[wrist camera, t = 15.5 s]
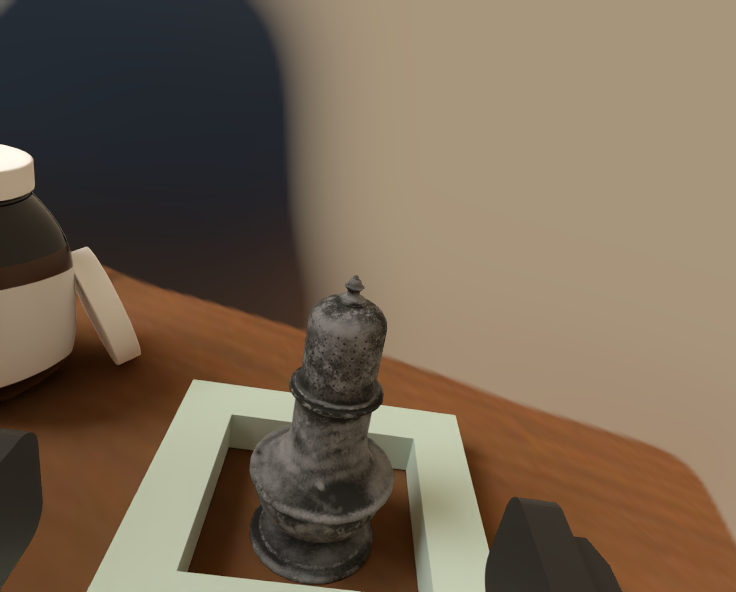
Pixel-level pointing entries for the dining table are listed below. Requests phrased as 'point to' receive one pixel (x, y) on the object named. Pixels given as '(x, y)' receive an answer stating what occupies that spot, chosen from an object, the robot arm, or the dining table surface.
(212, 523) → the dining table surface
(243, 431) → the light green square frame
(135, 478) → the dining table surface
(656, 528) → the dining table surface
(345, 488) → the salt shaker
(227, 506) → the dining table surface
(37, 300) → the spread jar
